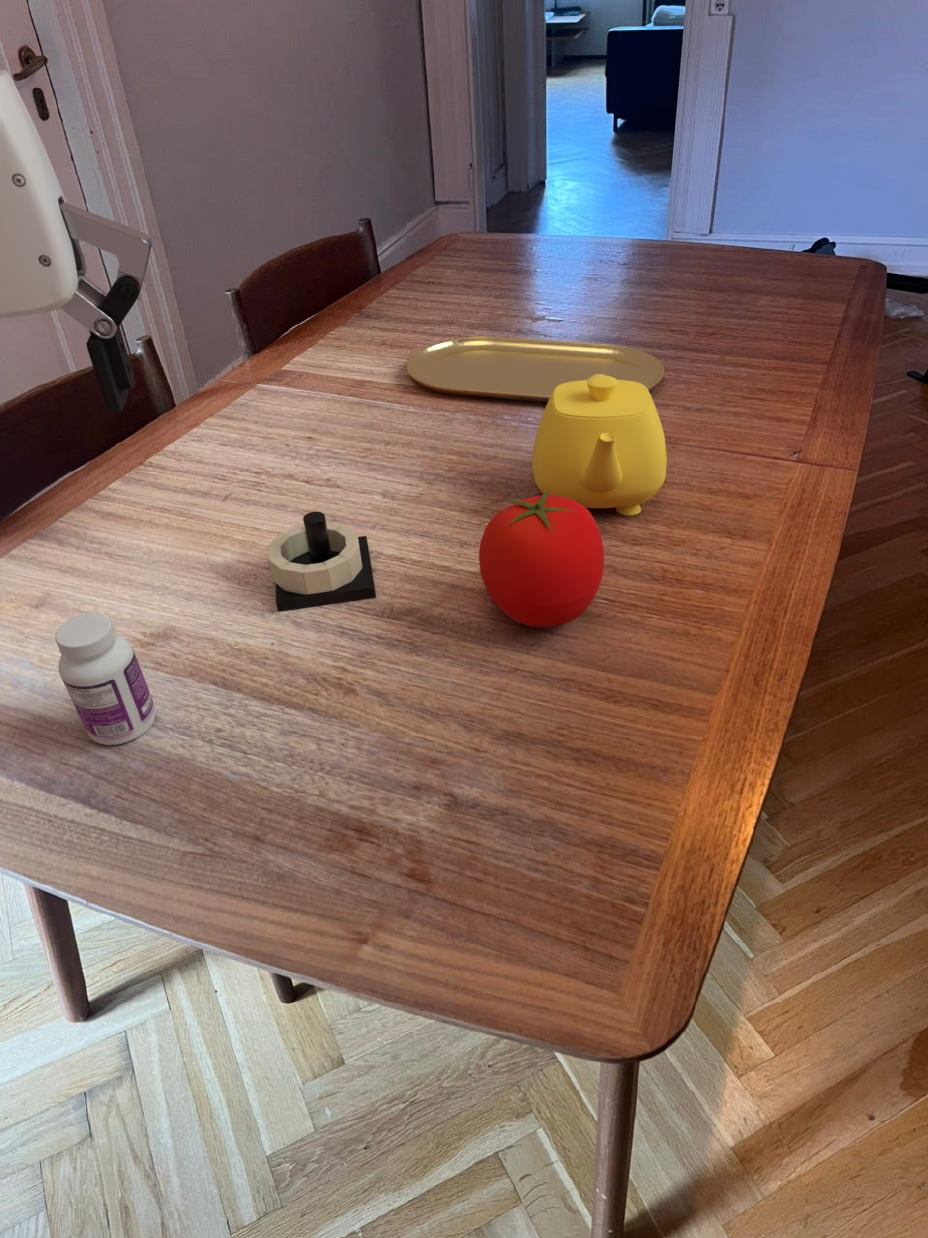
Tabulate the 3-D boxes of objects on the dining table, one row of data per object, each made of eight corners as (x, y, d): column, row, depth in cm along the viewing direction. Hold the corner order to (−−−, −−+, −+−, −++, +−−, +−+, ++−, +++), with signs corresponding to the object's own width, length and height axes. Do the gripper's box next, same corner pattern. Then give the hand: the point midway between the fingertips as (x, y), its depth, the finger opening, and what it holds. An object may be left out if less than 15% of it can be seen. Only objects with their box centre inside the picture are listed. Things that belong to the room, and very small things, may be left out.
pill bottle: (125, 692, 73) (88, 598, 67) (171, 713, 70) (137, 617, 65) (72, 734, 69) (28, 638, 63) (119, 757, 67) (78, 660, 61)
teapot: (656, 455, 100) (665, 345, 92) (673, 553, 84) (686, 431, 77) (534, 456, 101) (533, 347, 94) (529, 553, 86) (527, 432, 78)
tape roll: (272, 600, 80) (267, 577, 78) (272, 550, 87) (267, 528, 85) (365, 586, 81) (361, 564, 79) (358, 538, 87) (354, 516, 86)
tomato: (628, 607, 78) (636, 500, 72) (547, 664, 73) (547, 555, 66) (540, 562, 84) (540, 460, 78) (460, 611, 79) (452, 507, 72)
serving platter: (650, 417, 108) (651, 405, 107) (386, 393, 118) (385, 382, 117) (673, 359, 122) (674, 348, 121) (435, 342, 132) (434, 332, 131)
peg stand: (277, 611, 81) (263, 550, 76) (277, 558, 88) (264, 499, 83) (376, 597, 81) (367, 535, 77) (367, 545, 88) (359, 486, 84)
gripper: (-378, 70, 34) (-163, 464, 45) (79, 34, 36) (183, 422, 47) (-283, 52, 40) (-112, 404, 51) (106, 22, 42) (193, 369, 52)
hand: (29, 412), depth 49 cm, fingers open, 9 cm apart
